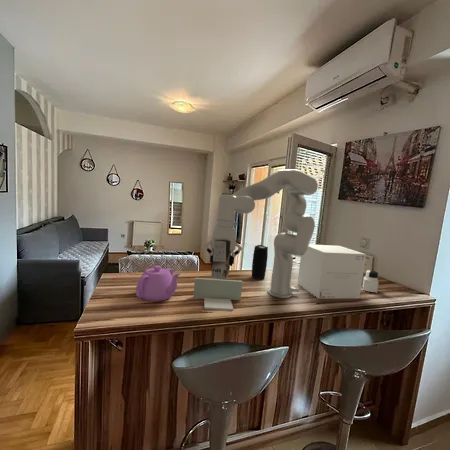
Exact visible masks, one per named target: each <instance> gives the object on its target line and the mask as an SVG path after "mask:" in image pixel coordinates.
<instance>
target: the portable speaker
mask: <svg viewBox="0 0 450 450" xmlns="http://www.w3.org/2000/svg"><path fill="white" fill-rule="evenodd" d="M268 250H269V246H265V245H264V244H263V245H262V244H257V245H255V246H254V248H253V256H252V262H251V263H252V264H251V277H252V278H254V279H255V280H260V281H261V280H262V279H265V277H266V272H267V266H268V264H267V263H268V257H269V256H268V252H269V251H268Z"/></svg>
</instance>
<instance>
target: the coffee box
mask: <svg viewBox="0 0 450 450" xmlns="http://www.w3.org/2000/svg"><path fill="white" fill-rule="evenodd" d="M230 243H231V241H227V240H215V244H214V254H213V264H212V265H211V266H212V267H211V273H210V275H211V276H210V277H211V278H210V279H220V280H227V279H228V277H229V276H230V269H231V266H230V257H231V255H232V254H231V252H230Z"/></svg>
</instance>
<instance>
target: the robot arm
mask: <svg viewBox="0 0 450 450" xmlns="http://www.w3.org/2000/svg"><path fill="white" fill-rule="evenodd" d="M318 184H319V183H318V181H317V179H316V178H315V177H313V176H312V175H309V174H307V173H305V172H304V171H301V170H298V169H293V168H291V169H289V168H287V169H279V170H276V171H275V172H273V173H271V174H270V175H269V176H267V177H265V178H263V179H262V180H260V181H258V182H256V183H252V184H251V185H248V186H245V187H243V188H240V189H239V190H237V191H236V192H234V193H232V194H220V195H219V196H218V205H217V215H216V216H217V217H216V225H214V227H213V231H212V235H211V236H212V237H211V240H209V241H207V242H206V243H204V245H203V247H204V249H205V250H206V252H207V253H208V254H209V255H210V257H209V263H211V266H212V264H213V254H214V244H215V240H227V241H231V243H230V252H231V257H230V267H233V265H234V264H235V257H236V256H238V254H239V253H240V252H241V251H242V250H243V247H242V246H241V245H240V244H239V243H238V242H237V232H236V226H238V225H239V222H238V221H236V213H238V214H251V213H252V212H253V211H254V209H255V207H256V203H255V202H256V201H260V200H266V199H269V198H271V197H273V196H274V195H275V194H277V193H278V192H280V191H282V190H283V189H285V190H286V192H287V195H288V198H289V204H288V208H287V210H286V211H287V212H286V214H285V216H284V219H283V224H282V226H283V228H284V229H285V230H286V231H288V232H279V233H278V234H276V235H275V236H274V239H273V249H274V250H273V251H274V252H273V253H274V257H273V265H272V273H271V274H272V275H271V283H270V287H269V288H267V290H266V291H267V293H268V295H270V296H272V297H276V298H281V299H289V298H292V297H293V292H295V293H299V292H300V289H299V288H300V287H295V286H291V281H292V273H293V265H294V259H293V256H296V257H301V256H302V255H304V254H305V253H306V251H307V249H308V246H309V244H311V240H312V237H313V234H314V230H315V227H316V226H315V225H316V224H315V223H316V222H315V220H314V217H313V216H311V215H309V214H305V213H306V209H307V200H306V197H305V196H311V195H314V194H315V193H316V192H317V190H318V188H319V185H318ZM289 232H292V233H293V234H292V233H289ZM294 233H295V234H294ZM209 246H210V247H211V249H210V247H209ZM236 248H237V249H236Z"/></svg>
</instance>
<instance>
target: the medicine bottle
mask: <svg viewBox="0 0 450 450" xmlns="http://www.w3.org/2000/svg"><path fill="white" fill-rule="evenodd" d="M378 276H379V272H377V271H376V270H373V269H372V270H370V269H368V270H366V272H365V276H363V279H362V285H361V288H362V287H363V289H362V291H363V290H366V291H371V292H376V293H377V294H378V289H379V279H378V278H379V277H378Z"/></svg>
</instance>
